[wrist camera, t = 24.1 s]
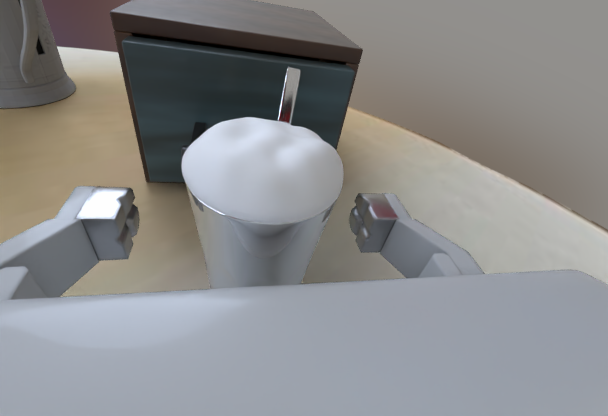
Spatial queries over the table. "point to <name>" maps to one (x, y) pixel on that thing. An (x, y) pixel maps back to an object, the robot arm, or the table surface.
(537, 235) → the table surface
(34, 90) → the glass holder
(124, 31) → the cabinet
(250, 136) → the milkshake
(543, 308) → the robot arm
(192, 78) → the drawer
